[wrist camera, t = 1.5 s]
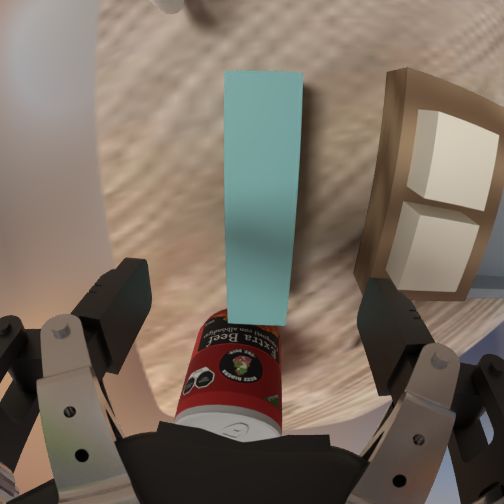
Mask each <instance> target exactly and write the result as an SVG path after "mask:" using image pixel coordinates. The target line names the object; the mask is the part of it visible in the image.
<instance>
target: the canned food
mask: <svg viewBox="0 0 504 504" xmlns="http://www.w3.org/2000/svg"><path fill="white" fill-rule="evenodd" d="M174 424H178V425H184V426H190V427H197V428H202V429H204V430H207V431H210V432H213V433H215V434H218V435H221V436H224V437H227V438H230V439H234V440H237V441H240V442H251V441H257V440H264V439H270V438H275V437H281V434H282V382H281V344H280V337H279V334H278V332H277V330H276V328H275V326H274V325H253V324H234V323H228V311H227V310H223V311H220V312H218V313H216V314H214V315H213V316H211V317H210V318H209V319H208V320H207V321H206V322H205V324H204V325H203V326H202V327H201V329H200V331H199V333H198V336H197V340H196V343H195V347H194V350H193V353H192V357H191V360H190V364H189V367H188V371H187V374H186V378H185V382H184V385H183V389H182V392H181V396H180V399H179V403H178V407H177V412H176V415H175V419H174Z"/></svg>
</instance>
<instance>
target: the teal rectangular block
mask: <svg viewBox="0 0 504 504" xmlns="http://www.w3.org/2000/svg"><path fill="white" fill-rule="evenodd" d="M302 94H303V73H298V72H282V71H225V83H224V194H225V247H226V283H227V311H228V323H234V324H253V325H279V326H285V325H286V316H287V307H288V297H289V288H290V277H291V267H292V256H293V245H294V233H295V220H296V207H297V193H298V178H299V161H300V142H301V121H302Z"/></svg>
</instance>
